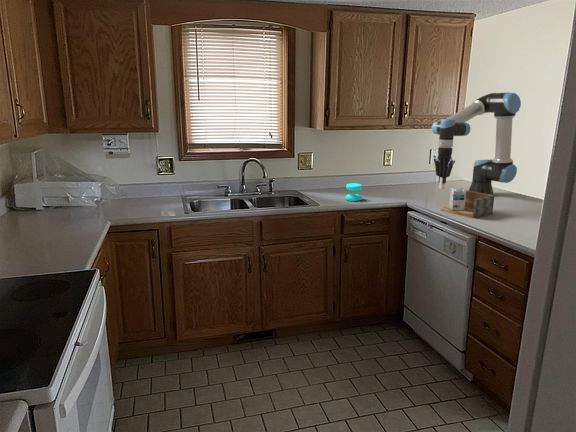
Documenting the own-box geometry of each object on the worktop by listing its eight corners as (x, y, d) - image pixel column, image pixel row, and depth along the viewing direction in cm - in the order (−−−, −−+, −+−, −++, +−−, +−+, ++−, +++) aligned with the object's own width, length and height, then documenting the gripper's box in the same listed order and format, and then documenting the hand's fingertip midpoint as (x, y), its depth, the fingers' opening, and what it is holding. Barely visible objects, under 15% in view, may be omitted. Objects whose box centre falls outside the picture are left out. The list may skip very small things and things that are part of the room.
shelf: (457, 206, 258) (459, 189, 255) (492, 214, 241) (494, 195, 238) (440, 210, 249) (441, 192, 247) (474, 218, 232) (476, 198, 229)
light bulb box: (464, 210, 242) (466, 191, 239) (451, 210, 243) (453, 191, 240) (461, 206, 252) (462, 187, 249) (448, 206, 253) (450, 187, 250)
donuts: (359, 182, 280) (364, 185, 271) (358, 198, 283) (363, 201, 273) (344, 183, 279) (348, 186, 269) (343, 198, 281) (348, 202, 272)
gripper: (431, 146, 251) (428, 187, 256) (451, 148, 240) (447, 191, 246) (440, 146, 255) (436, 186, 260) (459, 147, 244) (455, 189, 250)
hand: (441, 188), depth 253 cm, fingers closed
